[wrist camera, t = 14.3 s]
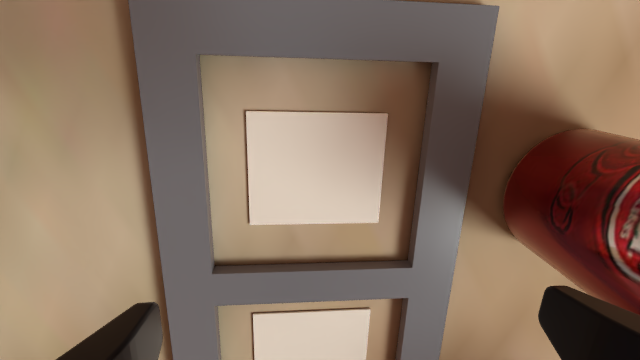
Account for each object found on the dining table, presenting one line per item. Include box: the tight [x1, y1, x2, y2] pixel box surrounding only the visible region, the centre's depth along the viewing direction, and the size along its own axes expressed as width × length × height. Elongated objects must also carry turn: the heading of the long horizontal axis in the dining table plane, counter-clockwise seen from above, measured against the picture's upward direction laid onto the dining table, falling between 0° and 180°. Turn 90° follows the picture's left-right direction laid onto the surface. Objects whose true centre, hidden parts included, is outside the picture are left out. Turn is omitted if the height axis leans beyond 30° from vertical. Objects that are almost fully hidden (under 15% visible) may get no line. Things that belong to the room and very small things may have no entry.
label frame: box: [128, 0, 499, 360], centre depth 20 cm, size 26×16×1 cm, turn 178°
